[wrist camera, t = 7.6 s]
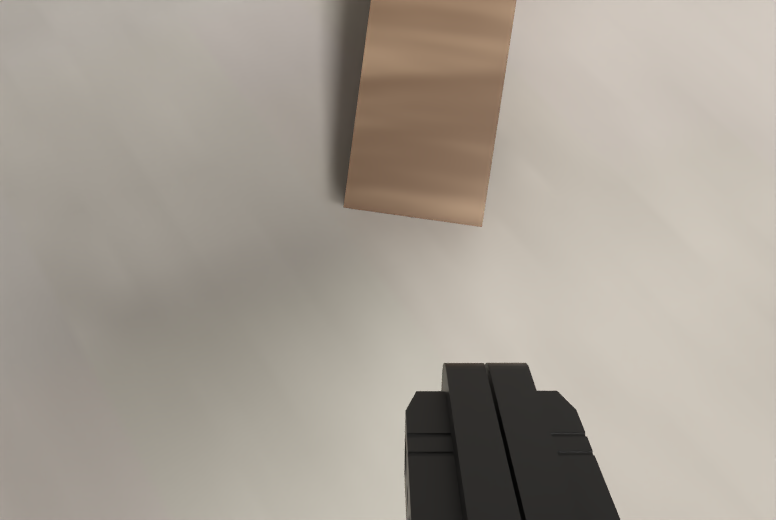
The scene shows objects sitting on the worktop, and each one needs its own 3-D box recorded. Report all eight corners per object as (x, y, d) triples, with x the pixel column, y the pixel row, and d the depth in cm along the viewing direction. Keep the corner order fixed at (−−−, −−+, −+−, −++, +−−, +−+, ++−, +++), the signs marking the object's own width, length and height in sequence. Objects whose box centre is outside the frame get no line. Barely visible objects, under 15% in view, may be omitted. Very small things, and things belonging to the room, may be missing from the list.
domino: (481, 226, 23) (526, -63, 22) (343, 207, 23) (381, -81, 22) (477, 225, 25) (517, -43, 24) (348, 206, 25) (384, -60, 24)
